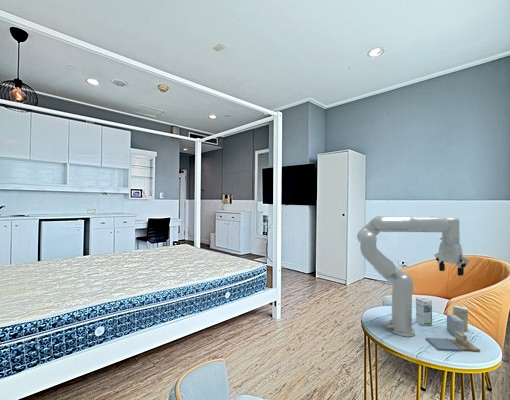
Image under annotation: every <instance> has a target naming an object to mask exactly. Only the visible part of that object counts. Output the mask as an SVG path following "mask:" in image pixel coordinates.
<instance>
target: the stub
mask: <svg viewBox="0 0 510 400" xmlns="http://www.w3.org/2000/svg"><path fill="white" fill-rule="evenodd" d="M448 339H449V340H450V341H452V342H453V343H454V344H456V345H457V346H458V347H460V348H461V349H462V352H463V351H464V352H481V349H480V348H479V347H478V346H475V345H474V344H472V343H471V342H470V341H468V340H467V335H466V334H465V333H464V334H463V333H461V332H456V337H455V338H454V339H452V338H448Z"/></svg>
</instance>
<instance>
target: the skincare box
mask: <svg viewBox="0 0 510 400" xmlns="http://www.w3.org/2000/svg"><path fill="white" fill-rule="evenodd" d="M452 312H453V313H452V315H456V316H457V317H458V318H460V319H461V320H463V322H464V332H465V333H466V332H467V331H468V326H469V325H468V324H469V322H468V321H469V307H465V306H462V305H461V306H460V305H458V304H454V305H453V311H452Z"/></svg>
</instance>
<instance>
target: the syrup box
mask: <svg viewBox="0 0 510 400" xmlns="http://www.w3.org/2000/svg"><path fill="white" fill-rule="evenodd" d="M432 301H433V300H432V299H430V298H428V297H426V296H424V297H423V296H422V297H421V296H420V297H415V322H416V323H418V324H419V325H421V326H423V327H424V326H433V303H432Z"/></svg>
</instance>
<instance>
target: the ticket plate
mask: <svg viewBox="0 0 510 400" xmlns="http://www.w3.org/2000/svg"><path fill="white" fill-rule="evenodd" d="M449 339H450V338H443V337H442V338H441V337H425V341H427V342H428V344H430V345H431V346H432V347H433V348H434V349H436V350H437V351H438V352H442V351H443V352H444V351H445V352H459V353H462V352H463V351H462V349H461V348H460V347H458V346H457V345H456V344H454V343H453V342H452V341H450V340H449Z"/></svg>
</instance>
